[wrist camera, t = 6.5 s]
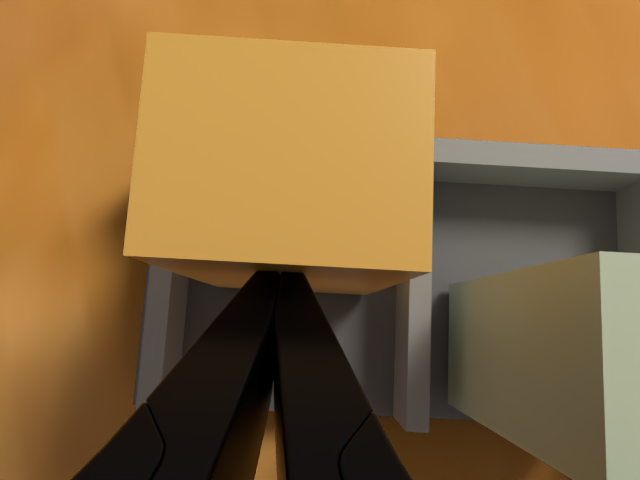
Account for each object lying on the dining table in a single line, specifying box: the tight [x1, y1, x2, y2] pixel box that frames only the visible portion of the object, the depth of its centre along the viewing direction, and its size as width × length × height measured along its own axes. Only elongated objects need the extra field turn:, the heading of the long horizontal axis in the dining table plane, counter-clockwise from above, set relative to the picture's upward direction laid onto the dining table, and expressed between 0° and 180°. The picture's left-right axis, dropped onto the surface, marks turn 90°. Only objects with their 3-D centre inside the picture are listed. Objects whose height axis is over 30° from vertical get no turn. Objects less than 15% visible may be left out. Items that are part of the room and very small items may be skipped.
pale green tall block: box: [448, 251, 640, 480], centre depth 11 cm, size 4×4×8 cm
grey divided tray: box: [133, 138, 640, 433], centre depth 15 cm, size 8×23×3 cm, turn 87°
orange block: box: [123, 32, 436, 295], centre depth 12 cm, size 4×4×8 cm
